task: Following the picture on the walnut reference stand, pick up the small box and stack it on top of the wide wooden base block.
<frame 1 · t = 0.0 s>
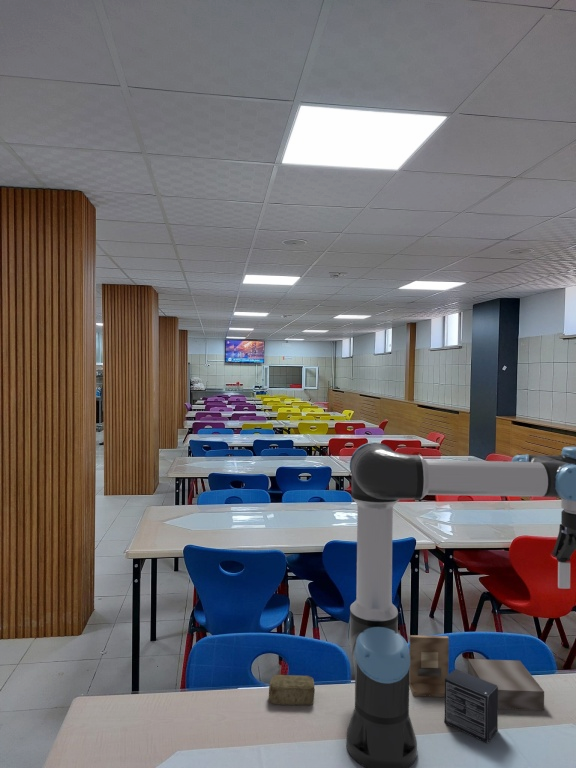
base block: (503, 693, 131), on the table
small box: (470, 727, 117), on the table
reference stand: (430, 689, 132), on the table
stone block: (291, 700, 127), on the table
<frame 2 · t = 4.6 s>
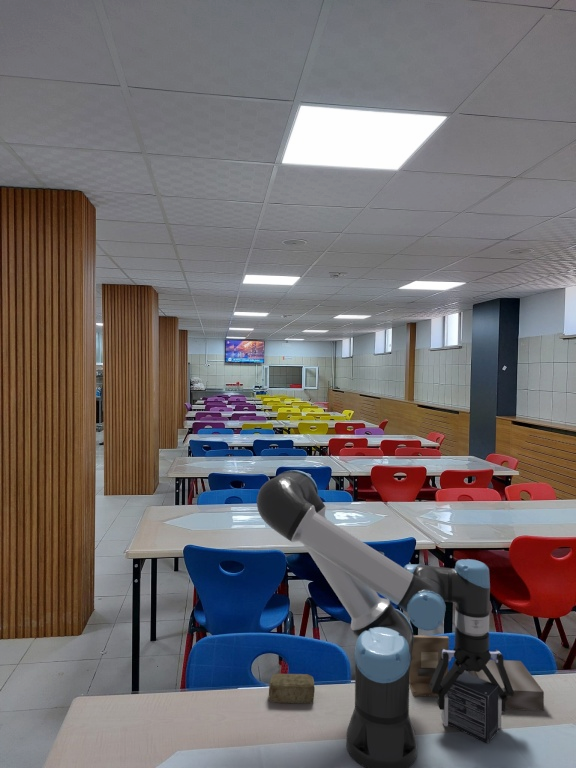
hand: (470, 723, 117), 1 cm above the table, tool pointing down, fingers closed on small box, 11 cm apart
small box: (471, 727, 117), on the table, touching gripper
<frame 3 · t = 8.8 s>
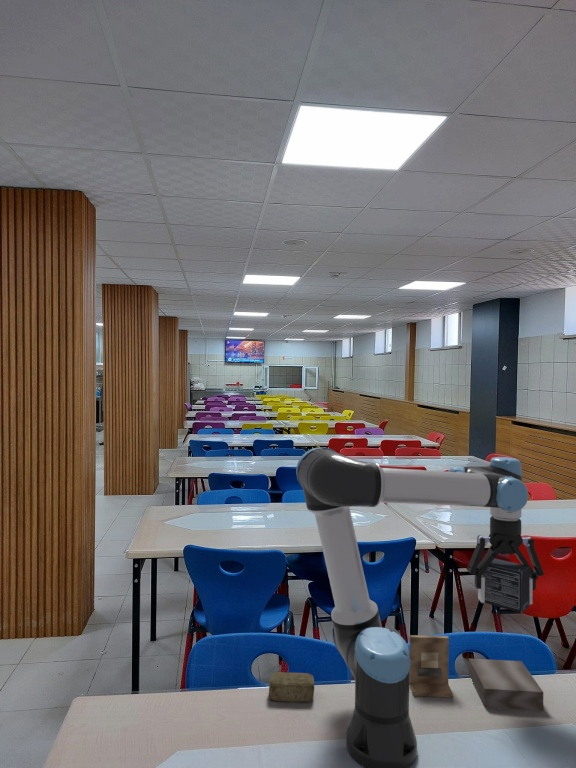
hand: (504, 601, 131), 23 cm above the table, tool pointing down, fingers closed on small box, 11 cm apart
small box: (505, 604, 131), point 23 cm above the table, touching gripper
when the fingers open (8 cm above the table, at t = 13.0 s): small box drops 2 cm, resting on base block.
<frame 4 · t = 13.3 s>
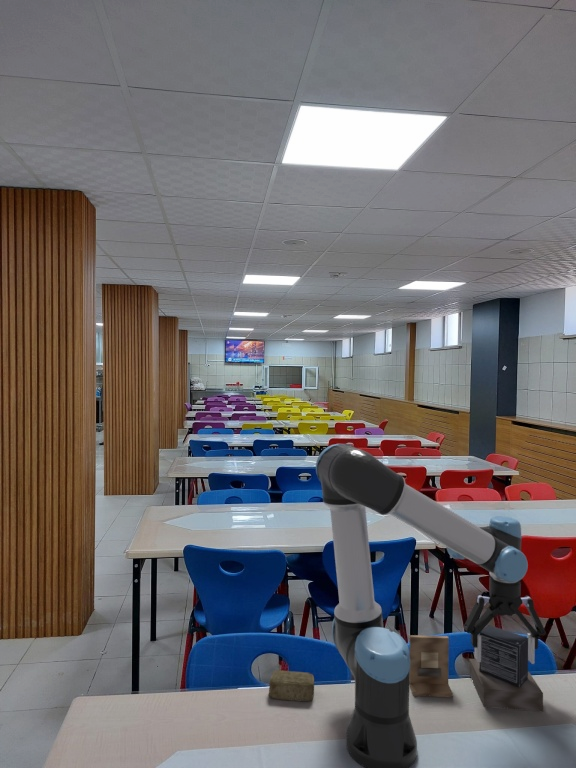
hand: (504, 660, 131), 8 cm above the table, tool pointing down, fingers open, 13 cm apart
base block: (503, 694, 131), on the table, touching small box
small box: (503, 675, 131), point 4 cm above the table, touching base block
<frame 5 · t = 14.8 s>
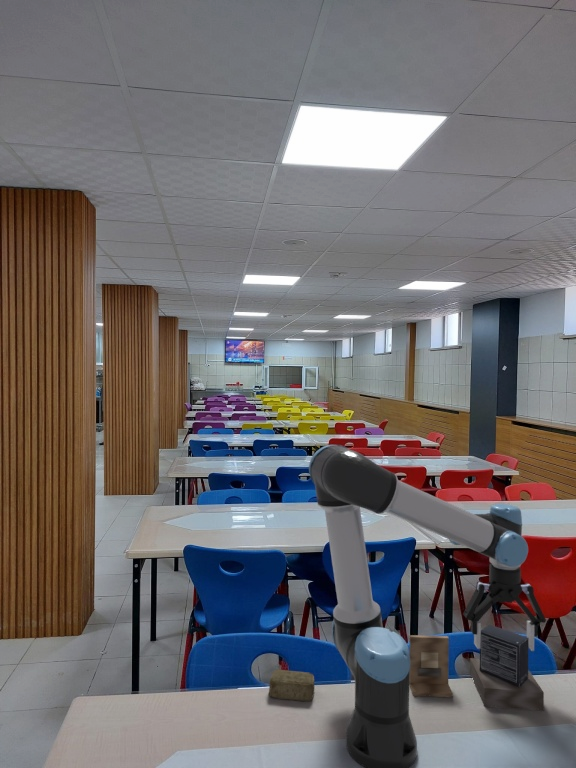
hand: (503, 647, 131), 12 cm above the table, tool pointing down, fingers open, 13 cm apart
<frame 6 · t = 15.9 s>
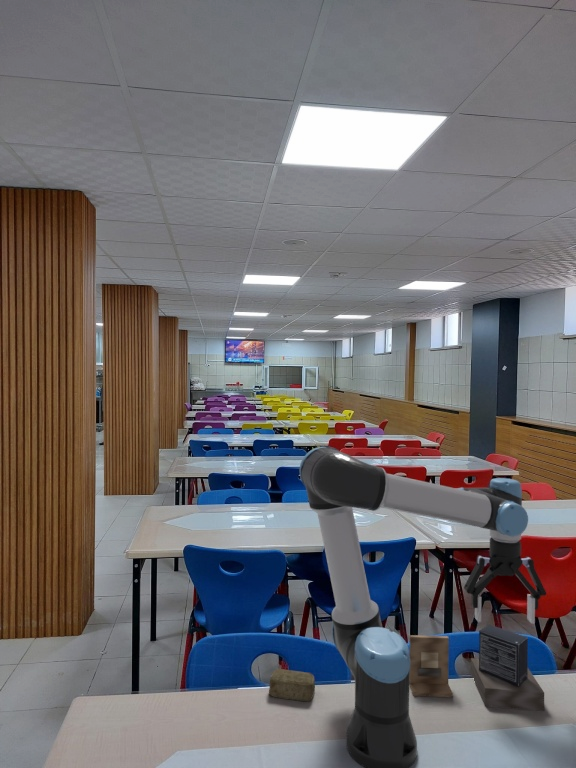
hand: (504, 620, 131), 18 cm above the table, tool pointing down, fingers open, 13 cm apart
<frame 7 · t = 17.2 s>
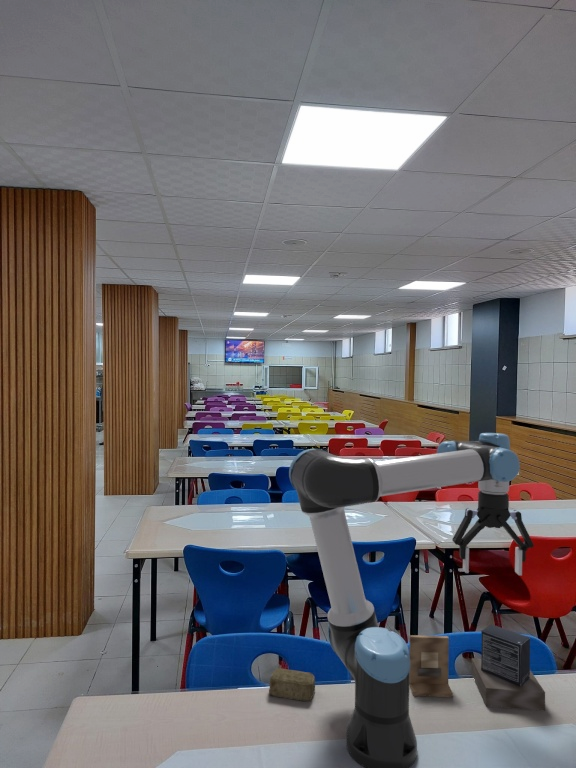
hand: (491, 572, 133), 30 cm above the table, tool pointing down, fingers open, 13 cm apart
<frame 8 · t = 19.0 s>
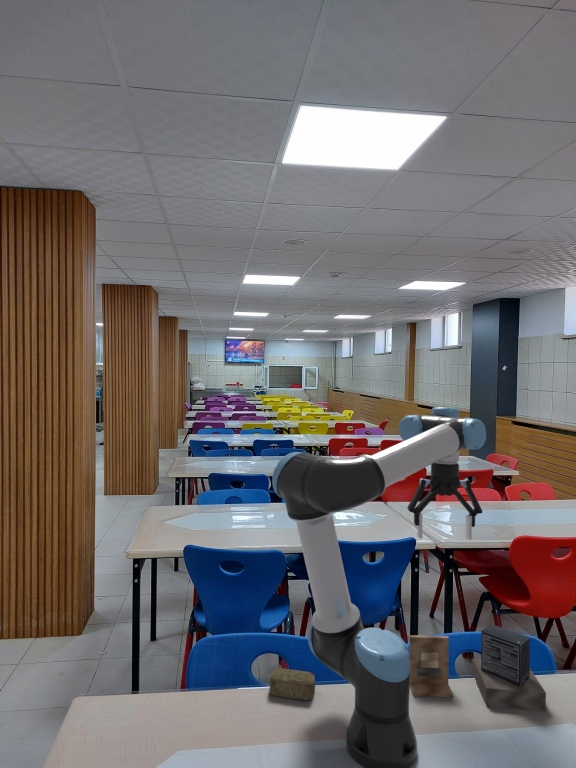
hand: (444, 537, 142), 37 cm above the table, tool pointing down, fingers open, 13 cm apart
at the end: small box inside the target area on the base block (0.4 cm from its centre), point 4.8 cm above the base block's base; small box tilted 0°; the gripper is holding nothing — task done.
